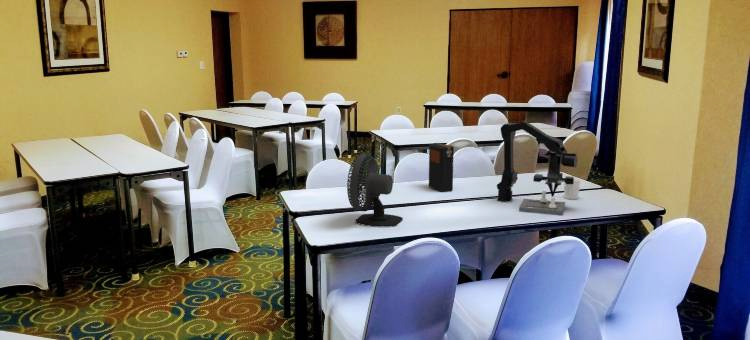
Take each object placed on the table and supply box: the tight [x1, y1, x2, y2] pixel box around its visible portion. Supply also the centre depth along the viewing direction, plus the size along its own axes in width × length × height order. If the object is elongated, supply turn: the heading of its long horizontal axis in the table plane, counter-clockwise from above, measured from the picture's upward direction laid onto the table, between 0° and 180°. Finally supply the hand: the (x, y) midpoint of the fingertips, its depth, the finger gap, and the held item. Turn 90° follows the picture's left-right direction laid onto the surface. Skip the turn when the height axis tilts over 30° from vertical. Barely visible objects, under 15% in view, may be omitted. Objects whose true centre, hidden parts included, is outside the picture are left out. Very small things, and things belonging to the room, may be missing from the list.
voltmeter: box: [428, 142, 455, 193], centre depth 332 cm, size 16×9×25 cm, turn 25°
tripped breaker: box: [539, 190, 548, 202], centre depth 297 cm, size 3×4×5 cm
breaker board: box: [518, 198, 566, 216], centre depth 293 cm, size 20×18×2 cm
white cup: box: [563, 177, 581, 200], centre depth 313 cm, size 8×8×10 cm
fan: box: [346, 154, 404, 227], centre depth 271 cm, size 26×26×30 cm
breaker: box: [549, 196, 556, 208], centre depth 286 cm, size 3×4×5 cm
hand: (552, 196), depth 296 cm, fingers closed
